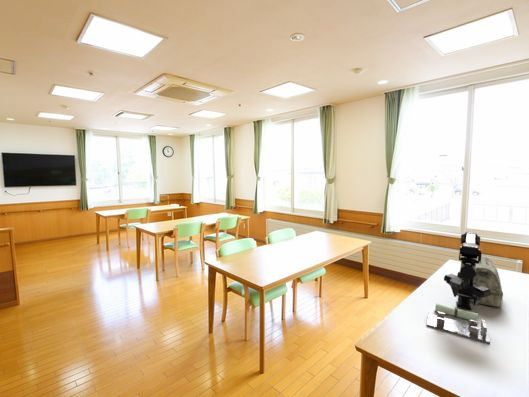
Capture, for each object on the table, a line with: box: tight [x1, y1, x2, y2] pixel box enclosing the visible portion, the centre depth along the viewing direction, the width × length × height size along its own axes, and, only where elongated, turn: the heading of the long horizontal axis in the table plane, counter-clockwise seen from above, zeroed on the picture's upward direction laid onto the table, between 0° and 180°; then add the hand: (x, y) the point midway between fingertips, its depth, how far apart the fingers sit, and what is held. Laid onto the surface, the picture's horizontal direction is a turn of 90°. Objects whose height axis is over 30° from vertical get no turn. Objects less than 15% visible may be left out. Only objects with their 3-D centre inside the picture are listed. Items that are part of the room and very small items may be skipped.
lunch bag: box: [470, 256, 504, 308], centre depth 161 cm, size 26×18×22 cm
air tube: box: [434, 303, 479, 322], centre depth 142 cm, size 4×18×4 cm, turn 56°
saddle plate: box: [426, 311, 491, 345], centre depth 131 cm, size 12×24×6 cm, turn 56°
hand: (464, 301), depth 132 cm, fingers open, 9 cm apart
